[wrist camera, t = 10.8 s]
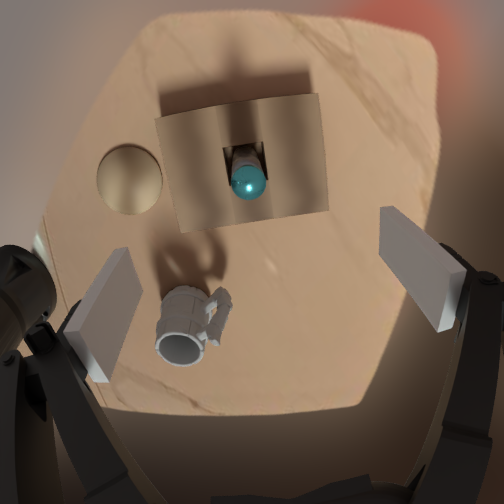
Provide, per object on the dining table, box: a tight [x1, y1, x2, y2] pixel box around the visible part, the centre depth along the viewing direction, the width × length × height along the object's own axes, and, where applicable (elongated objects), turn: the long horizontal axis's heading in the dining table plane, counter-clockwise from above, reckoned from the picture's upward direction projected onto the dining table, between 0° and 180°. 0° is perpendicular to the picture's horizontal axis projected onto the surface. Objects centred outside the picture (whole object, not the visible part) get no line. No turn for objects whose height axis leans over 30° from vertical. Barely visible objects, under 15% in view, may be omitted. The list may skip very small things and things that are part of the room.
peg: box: [231, 146, 266, 200], centre depth 32 cm, size 3×3×12 cm
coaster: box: [97, 147, 162, 215], centre depth 38 cm, size 9×9×1 cm
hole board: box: [155, 93, 329, 233], centre depth 36 cm, size 18×14×4 cm
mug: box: [155, 285, 233, 366], centre depth 41 cm, size 8×12×12 cm, turn 123°
